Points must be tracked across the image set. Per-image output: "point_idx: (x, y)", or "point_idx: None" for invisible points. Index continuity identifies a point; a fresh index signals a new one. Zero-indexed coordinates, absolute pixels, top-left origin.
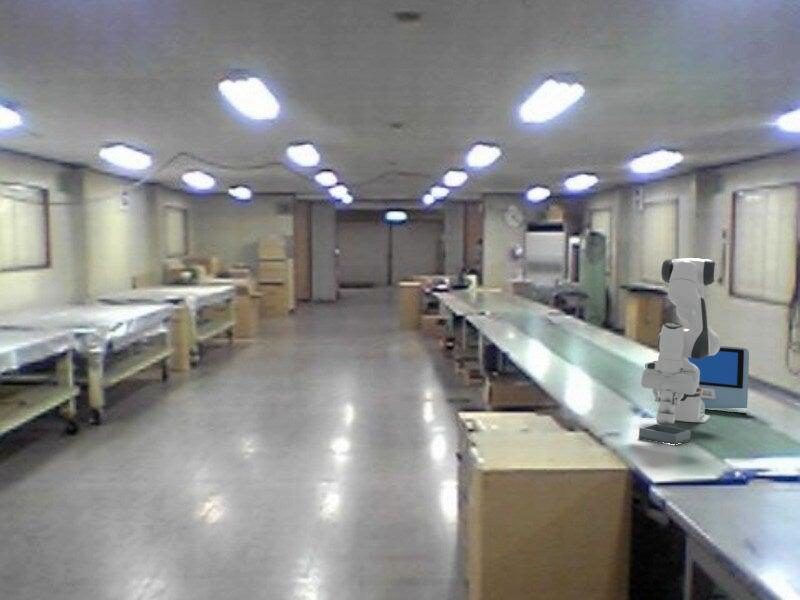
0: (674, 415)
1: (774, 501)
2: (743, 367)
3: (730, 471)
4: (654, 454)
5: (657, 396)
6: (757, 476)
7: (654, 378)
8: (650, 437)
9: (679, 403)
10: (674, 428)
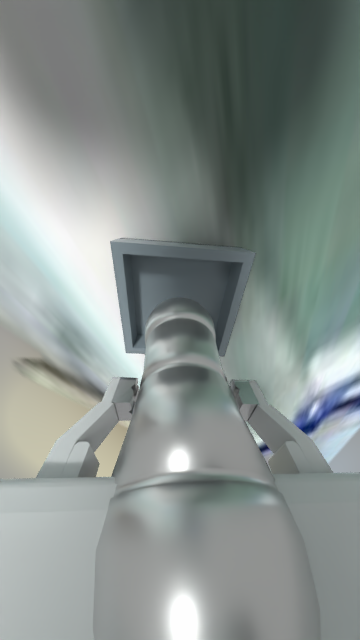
0: (215, 338)
1: (328, 448)
2: None
3: (306, 407)
4: None
5: (115, 416)
6: (339, 405)
7: None
8: None
9: (256, 385)
10: (195, 258)
